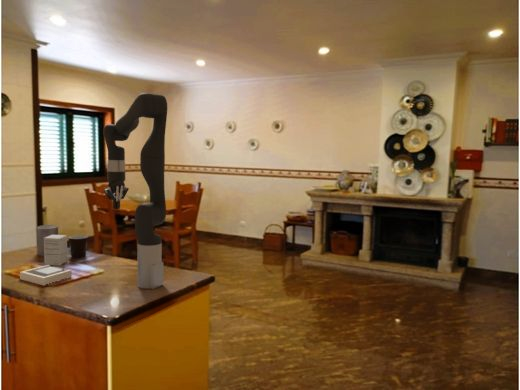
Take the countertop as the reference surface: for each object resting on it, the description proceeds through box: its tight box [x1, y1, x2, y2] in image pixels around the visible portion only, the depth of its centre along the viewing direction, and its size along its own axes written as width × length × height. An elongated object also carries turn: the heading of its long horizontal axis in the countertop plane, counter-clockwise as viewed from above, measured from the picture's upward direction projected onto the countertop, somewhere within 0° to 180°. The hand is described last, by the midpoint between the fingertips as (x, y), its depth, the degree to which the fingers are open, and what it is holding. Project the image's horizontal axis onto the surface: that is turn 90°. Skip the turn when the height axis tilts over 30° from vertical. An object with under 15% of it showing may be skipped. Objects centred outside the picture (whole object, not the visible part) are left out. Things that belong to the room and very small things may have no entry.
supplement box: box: [43, 234, 68, 266], centre depth 191 cm, size 7×7×13 cm
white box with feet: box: [35, 266, 64, 277], centre depth 171 cm, size 9×8×3 cm
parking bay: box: [19, 264, 73, 286], centre depth 169 cm, size 15×13×3 cm
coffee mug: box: [68, 234, 88, 260], centre depth 204 cm, size 12×9×10 cm
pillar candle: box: [36, 223, 59, 257], centre depth 206 cm, size 10×10×15 cm
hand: (116, 209), depth 183 cm, fingers closed
